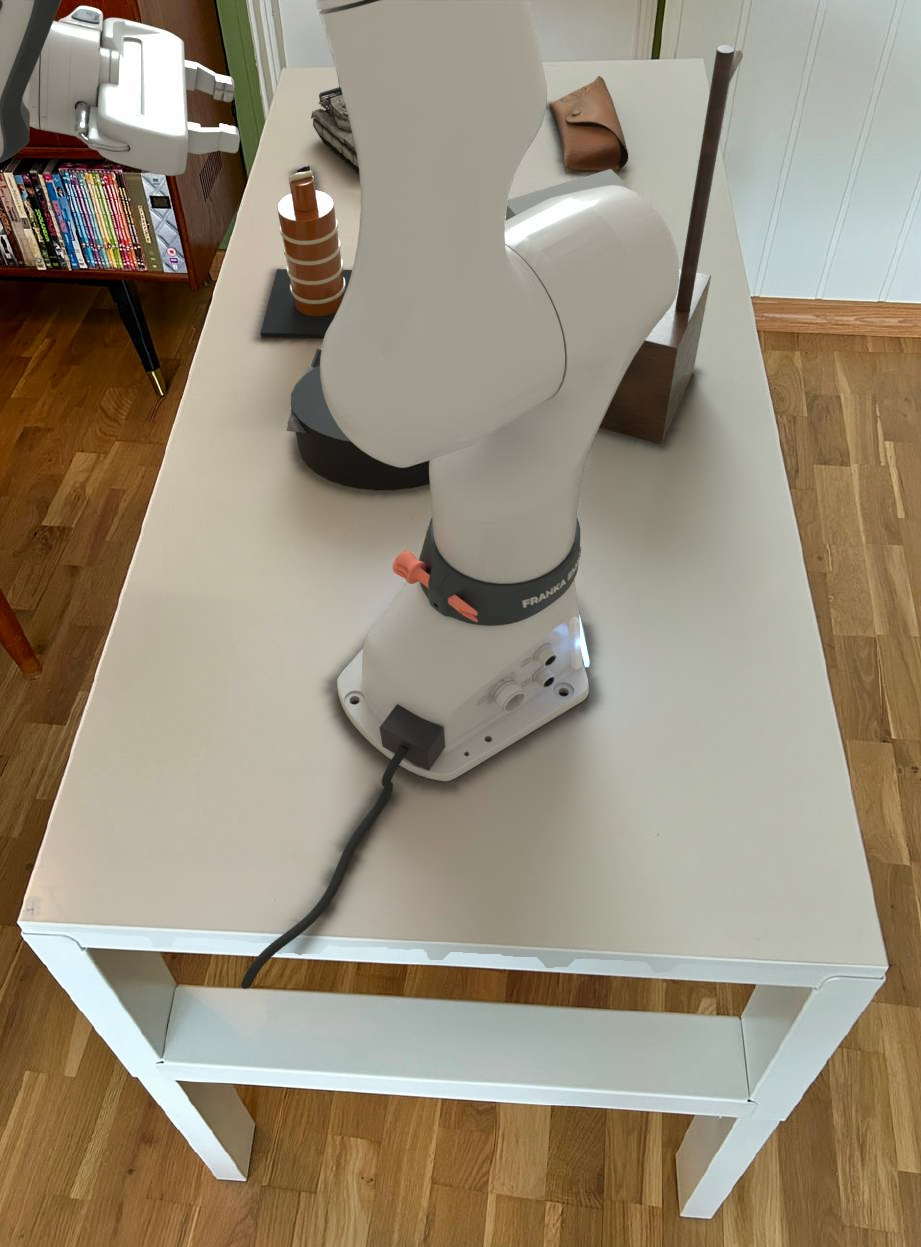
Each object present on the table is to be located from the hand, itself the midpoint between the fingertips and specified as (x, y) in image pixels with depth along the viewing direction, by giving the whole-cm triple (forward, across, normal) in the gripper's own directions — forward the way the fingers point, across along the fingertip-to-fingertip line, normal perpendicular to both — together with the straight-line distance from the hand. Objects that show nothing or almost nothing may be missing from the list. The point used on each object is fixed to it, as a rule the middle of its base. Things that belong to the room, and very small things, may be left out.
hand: (236, 115), depth 99 cm
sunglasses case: (+50, +35, +10) cm, 62 cm away
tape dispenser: (+17, -18, +22) cm, 33 cm away
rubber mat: (+13, +6, +23) cm, 27 cm away
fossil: (+12, +32, +23) cm, 42 cm away
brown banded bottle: (+13, +6, +22) cm, 26 cm away
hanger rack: (+41, -16, +13) cm, 46 cm away
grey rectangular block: (+36, +11, +13) cm, 39 cm away
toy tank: (+22, +37, +19) cm, 47 cm away
